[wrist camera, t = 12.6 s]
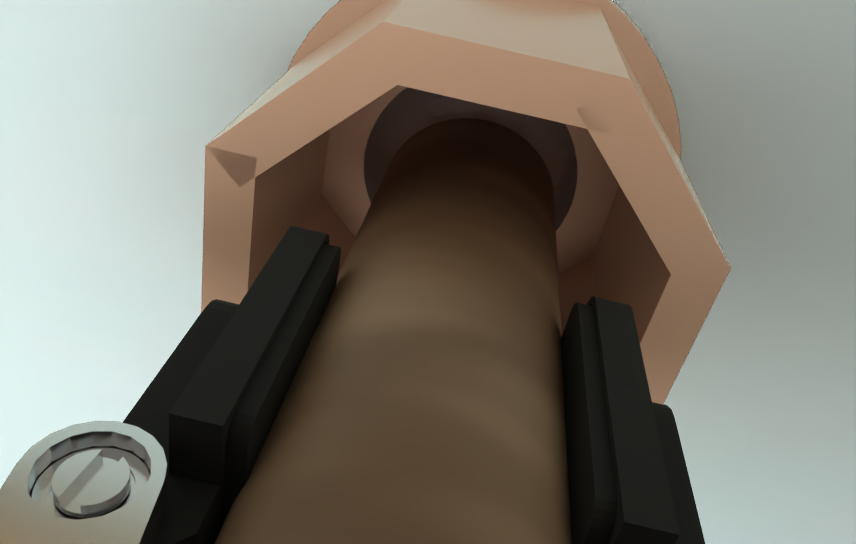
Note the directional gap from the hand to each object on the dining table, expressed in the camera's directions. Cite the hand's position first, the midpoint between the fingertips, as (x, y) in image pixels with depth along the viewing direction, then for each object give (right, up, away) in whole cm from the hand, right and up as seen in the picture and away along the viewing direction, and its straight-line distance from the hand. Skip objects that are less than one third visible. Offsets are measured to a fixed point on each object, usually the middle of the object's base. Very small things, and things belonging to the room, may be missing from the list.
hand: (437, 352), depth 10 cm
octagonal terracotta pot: (+1, +4, +6) cm, 8 cm away
